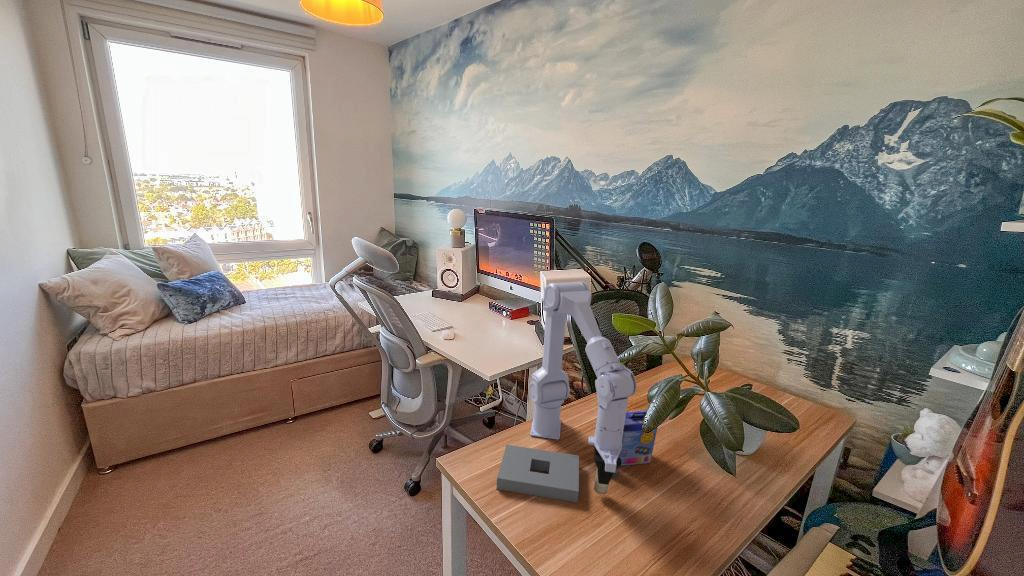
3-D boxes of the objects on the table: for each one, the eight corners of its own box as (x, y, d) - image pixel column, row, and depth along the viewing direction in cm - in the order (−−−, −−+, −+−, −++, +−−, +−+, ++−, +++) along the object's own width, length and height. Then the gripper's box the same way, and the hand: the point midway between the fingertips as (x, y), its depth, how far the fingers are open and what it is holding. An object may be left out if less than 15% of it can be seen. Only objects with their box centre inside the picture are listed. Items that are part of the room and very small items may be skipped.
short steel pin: (604, 469, 101) (606, 453, 100) (617, 470, 100) (619, 455, 99) (605, 477, 98) (607, 461, 97) (618, 479, 97) (620, 463, 96)
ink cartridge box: (616, 468, 101) (624, 416, 97) (606, 453, 106) (613, 403, 103) (652, 463, 104) (661, 413, 100) (641, 449, 109) (648, 400, 105)
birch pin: (593, 483, 93) (597, 453, 91) (607, 485, 93) (611, 455, 90) (594, 493, 90) (598, 462, 88) (608, 495, 90) (612, 464, 88)
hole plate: (505, 454, 104) (506, 444, 103) (577, 466, 101) (579, 455, 100) (496, 489, 92) (497, 477, 91) (577, 502, 90) (578, 491, 89)
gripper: (588, 402, 94) (582, 453, 98) (593, 442, 80) (585, 499, 84) (620, 406, 93) (612, 457, 97) (630, 446, 80) (621, 504, 83)
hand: (602, 477), depth 91 cm, fingers closed on birch pin, 3 cm apart
